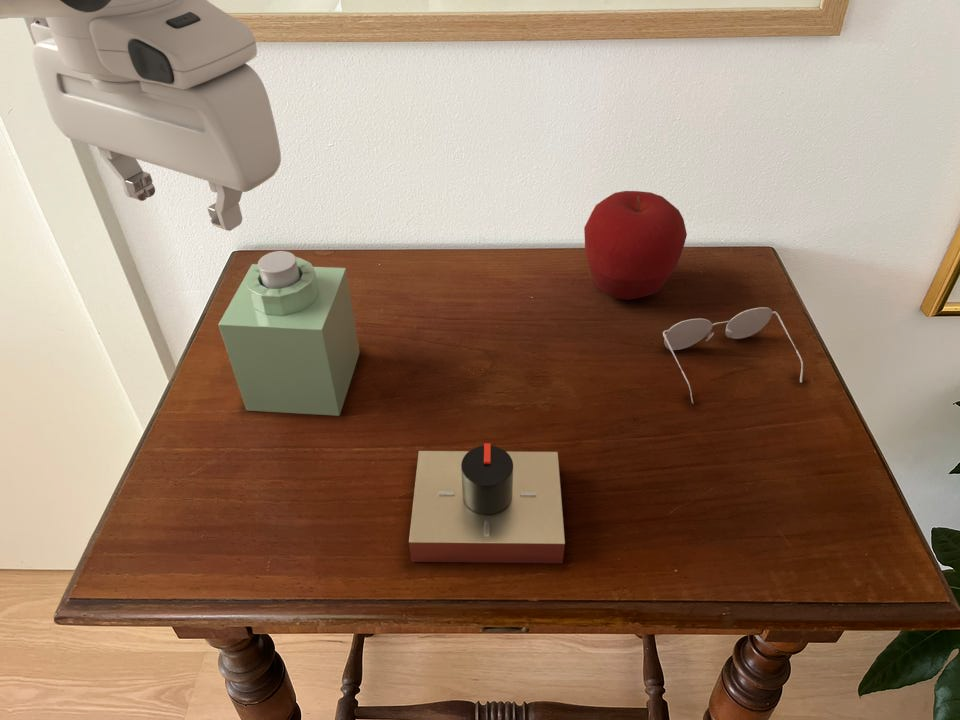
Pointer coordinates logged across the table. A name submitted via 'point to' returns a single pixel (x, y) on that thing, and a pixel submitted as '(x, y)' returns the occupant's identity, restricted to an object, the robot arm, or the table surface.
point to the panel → (487, 537)
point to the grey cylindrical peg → (278, 270)
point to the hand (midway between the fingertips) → (184, 210)
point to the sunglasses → (736, 328)
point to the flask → (293, 341)
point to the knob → (487, 479)
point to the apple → (633, 243)
